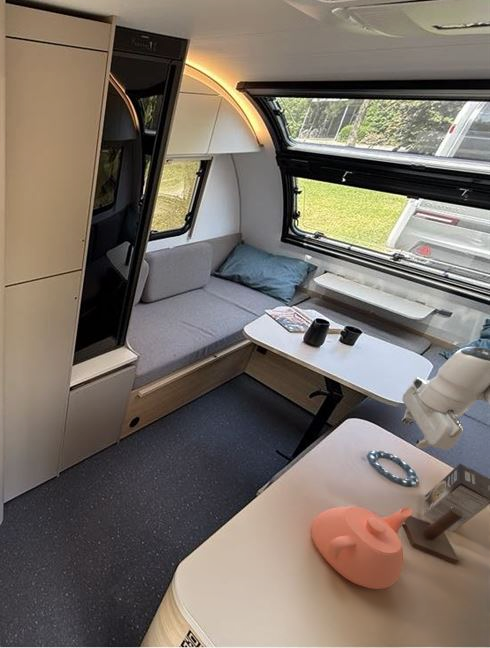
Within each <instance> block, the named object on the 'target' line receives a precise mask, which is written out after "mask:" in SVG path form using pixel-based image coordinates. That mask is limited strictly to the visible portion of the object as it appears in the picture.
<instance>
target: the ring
mask: <svg viewBox="0 0 490 648" xmlns="http://www.w3.org/2000/svg"><path fill="white" fill-rule="evenodd" d="M380 458H381V459H386V460H389V461H391V462H393V463H395V464H396V465H398V466H399V467H400V468H401V469H402V470H404V472H405V474H406V476H407V478H401V477H400V476H396V475H394V474H392V473H391V472H389V471H387V470H386V469H385V468H384V467H383V466H382V465H381V464H380V463H379V461H378V459H380ZM366 459H367V461H368V463H369V465H370V466H371V467H372V468H373V469H374V470H375V472H377V473H378V474H379V475H380V476H382V477H384V478H385V479H387V480H389V481H390V482H391V483H394V484H396V485H400V486H402V487H404V488H416V487H417V486H418V485H419V482H420V478H419V476H418V475H417V473H416V471H415V469H413V467H411V466H410V465H409V464H408V463H407V462H406V461H404V460H403V459H401V458H400V457H398V456H397V455H394V454H393V453H389V452H387V451H384V450H370V451H369V452H368V453H367V455H366Z"/></svg>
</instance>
